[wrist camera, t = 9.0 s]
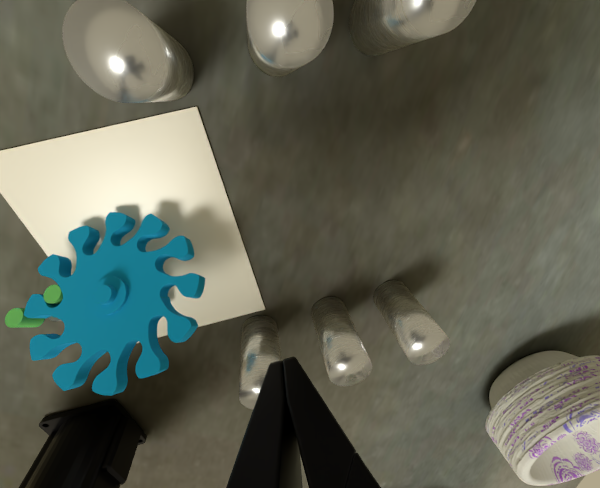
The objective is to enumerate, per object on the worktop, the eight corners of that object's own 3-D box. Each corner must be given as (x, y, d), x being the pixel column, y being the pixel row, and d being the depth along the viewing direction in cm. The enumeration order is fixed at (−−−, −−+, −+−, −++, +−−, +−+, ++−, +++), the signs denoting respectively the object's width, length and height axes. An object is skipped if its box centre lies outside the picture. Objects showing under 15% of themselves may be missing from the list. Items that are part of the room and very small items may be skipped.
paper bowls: (501, 428, 39) (556, 500, 32) (443, 394, 33) (495, 474, 26) (603, 361, 35) (691, 427, 28) (559, 308, 29) (657, 375, 22)
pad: (117, 347, 22) (116, 348, 22) (-25, 156, 15) (-27, 156, 15) (265, 308, 23) (265, 309, 23) (196, 106, 16) (196, 106, 16)
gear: (193, 194, 16) (195, 388, 13) (228, 228, 22) (234, 369, 19) (10, 222, 17) (-26, 413, 14) (91, 248, 22) (77, 387, 19)
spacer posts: (247, 346, 24) (246, 414, 19) (120, 40, 14) (41, 4, 9) (406, 303, 25) (448, 358, 20) (401, -20, 14) (488, -87, 9)
